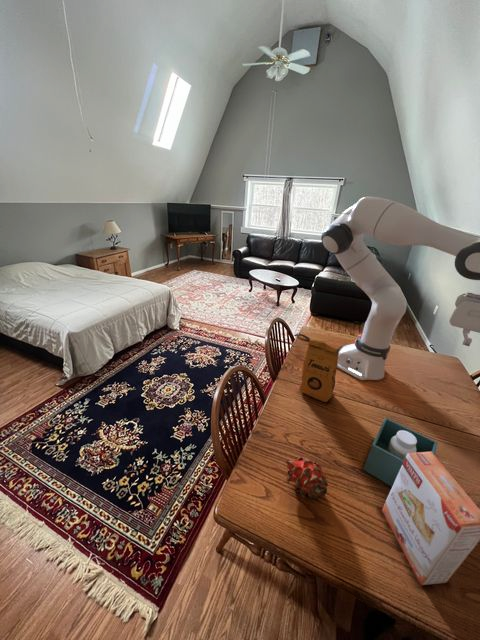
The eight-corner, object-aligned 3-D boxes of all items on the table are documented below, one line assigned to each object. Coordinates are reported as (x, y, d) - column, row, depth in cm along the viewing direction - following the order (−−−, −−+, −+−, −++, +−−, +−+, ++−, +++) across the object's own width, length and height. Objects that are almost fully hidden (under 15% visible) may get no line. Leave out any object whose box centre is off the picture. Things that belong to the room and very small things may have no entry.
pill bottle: (404, 459, 77) (417, 431, 73) (409, 478, 72) (423, 450, 67) (381, 452, 79) (392, 425, 74) (384, 471, 74) (396, 442, 69)
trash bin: (363, 469, 75) (372, 444, 70) (376, 440, 84) (385, 417, 80) (417, 502, 67) (430, 476, 63) (425, 466, 76) (437, 442, 72)
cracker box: (379, 510, 65) (405, 451, 56) (402, 509, 65) (432, 449, 57) (419, 587, 52) (461, 526, 43) (447, 584, 53) (495, 523, 44)
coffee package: (326, 407, 96) (338, 355, 87) (295, 392, 103) (303, 343, 93) (335, 393, 103) (348, 344, 94) (306, 380, 110) (314, 333, 101)
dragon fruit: (323, 512, 65) (285, 481, 74) (339, 479, 68) (301, 453, 77) (312, 506, 60) (273, 473, 69) (330, 471, 63) (290, 443, 71)
